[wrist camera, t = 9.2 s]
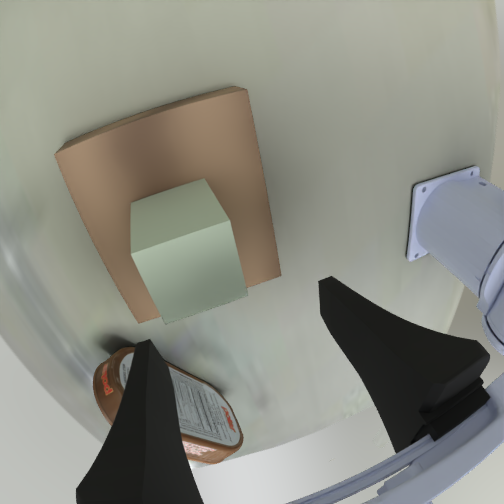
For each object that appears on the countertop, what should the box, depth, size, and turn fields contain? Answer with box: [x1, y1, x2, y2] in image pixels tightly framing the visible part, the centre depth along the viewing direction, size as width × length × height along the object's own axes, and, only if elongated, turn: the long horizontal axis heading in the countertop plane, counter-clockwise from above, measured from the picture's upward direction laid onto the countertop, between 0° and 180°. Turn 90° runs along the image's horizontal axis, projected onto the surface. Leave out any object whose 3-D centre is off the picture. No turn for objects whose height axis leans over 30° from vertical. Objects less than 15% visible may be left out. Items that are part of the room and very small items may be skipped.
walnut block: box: [54, 86, 281, 324], centre depth 18 cm, size 10×12×3 cm
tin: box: [93, 347, 243, 464], centre depth 24 cm, size 15×3×8 cm, turn 36°
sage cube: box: [131, 178, 248, 324], centre depth 15 cm, size 4×4×5 cm
